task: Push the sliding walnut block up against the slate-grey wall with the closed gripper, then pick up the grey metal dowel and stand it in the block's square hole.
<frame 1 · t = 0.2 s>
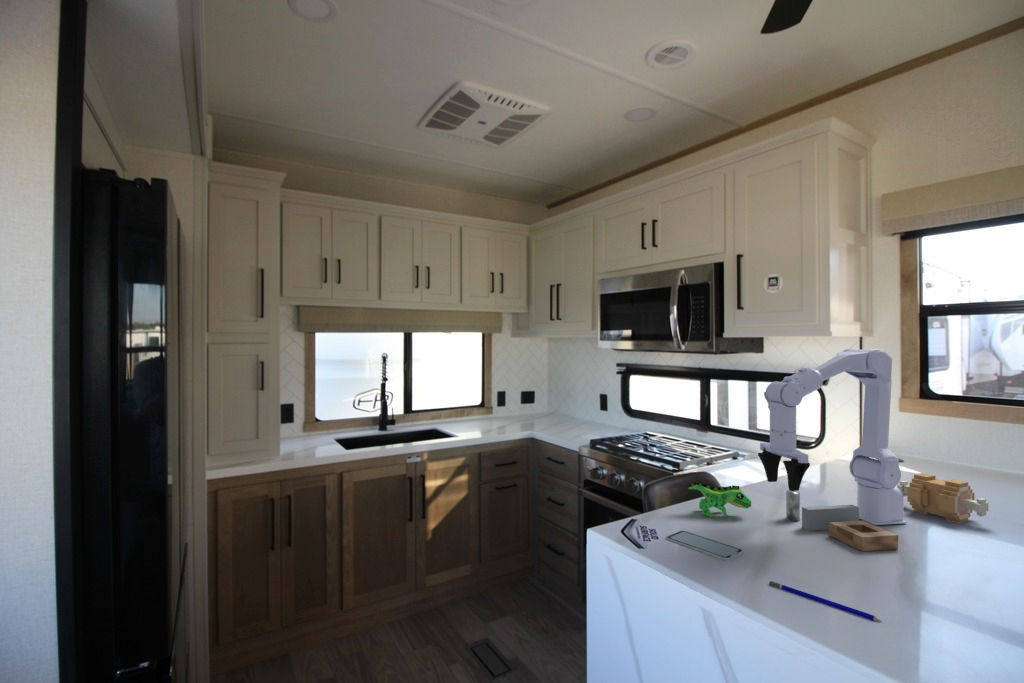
hand: (782, 485, 120), 10 cm above the worktop, tool pointing down, fingers open, 7 cm apart
toy: (718, 515, 128), on the worktop
wall: (830, 527, 119), on the worktop
dowel: (792, 519, 125), on the worktop
block: (862, 535, 111), point 2 cm above the worktop, slide at 0.0 cm
smartphone: (703, 547, 108), on the worktop
pencil: (821, 604, 84), on the worktop
voxel meat on bone: (940, 517, 129), on the worktop
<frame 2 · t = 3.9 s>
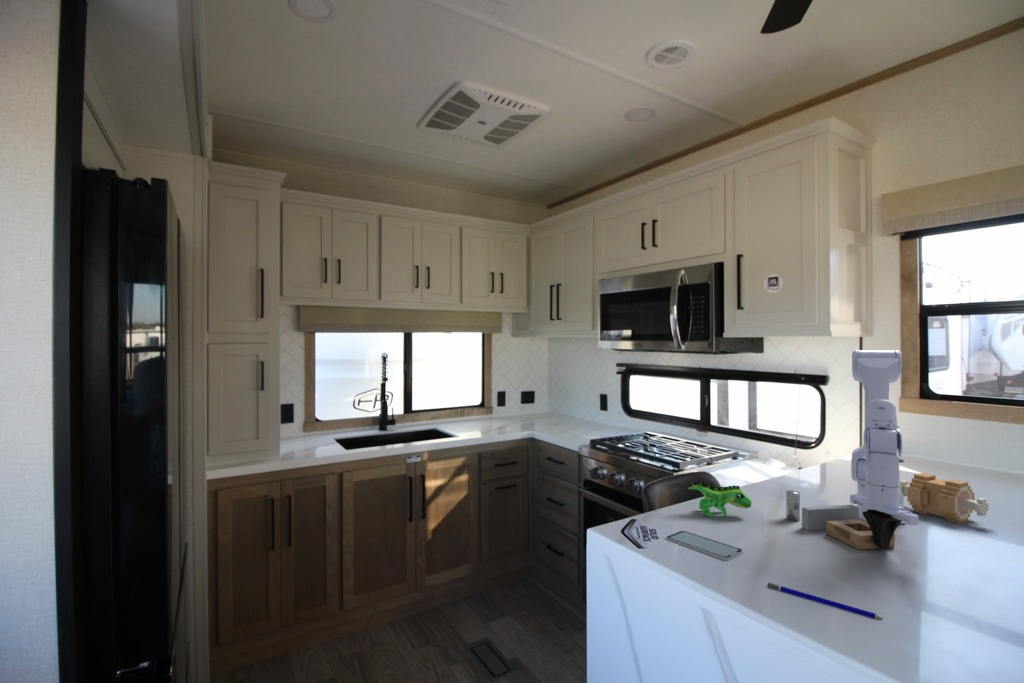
hand: (882, 546, 106), 1 cm above the worktop, tool pointing down, fingers closed
block: (859, 533, 111), point 2 cm above the worktop, slide at 0.9 cm, touching gripper
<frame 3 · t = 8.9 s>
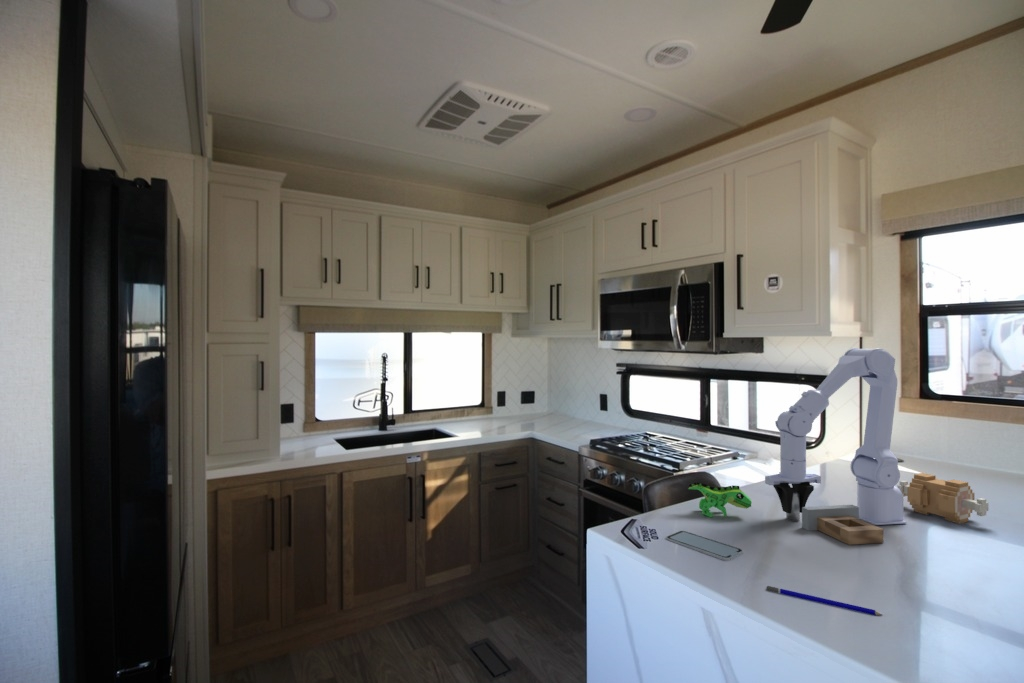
hand: (792, 511, 125), 2 cm above the worktop, tool pointing down, fingers closed on dowel, 3 cm apart
dowel: (792, 519, 125), on the worktop, touching gripper
block: (849, 529, 114), point 2 cm above the worktop, slide at 3.5 cm
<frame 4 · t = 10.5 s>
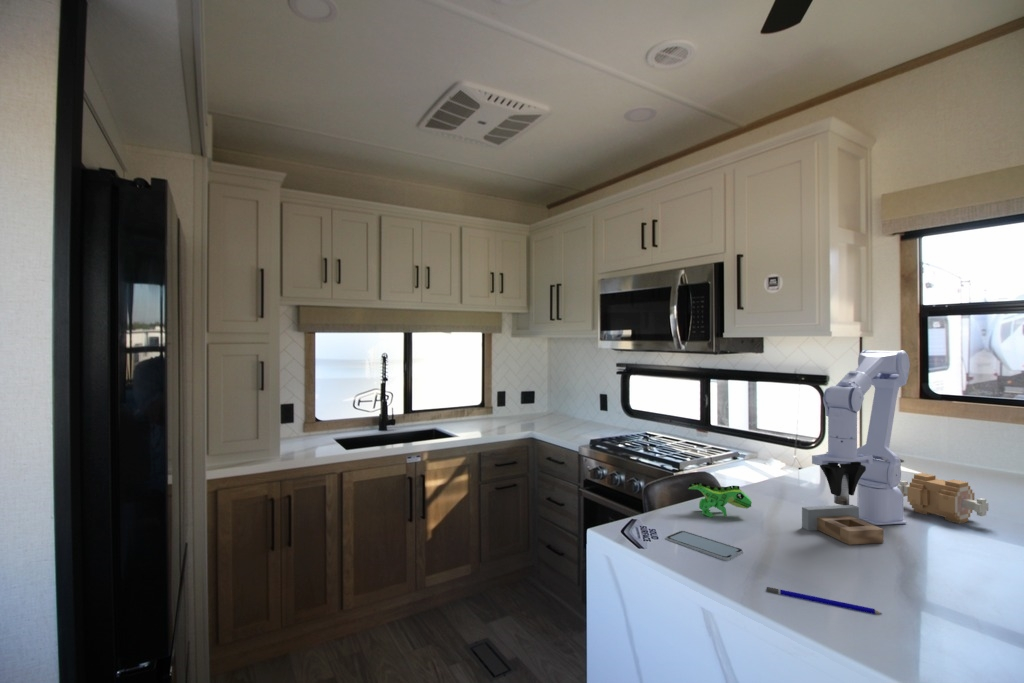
hand: (842, 494, 115), 9 cm above the worktop, tool pointing down, fingers closed on dowel, 3 cm apart
dowel: (841, 503, 116), point 7 cm above the worktop, touching gripper
when the fingers open (3 cm above the worktop, at t = 12.4 s): dowel drops 1 cm, resting in block.
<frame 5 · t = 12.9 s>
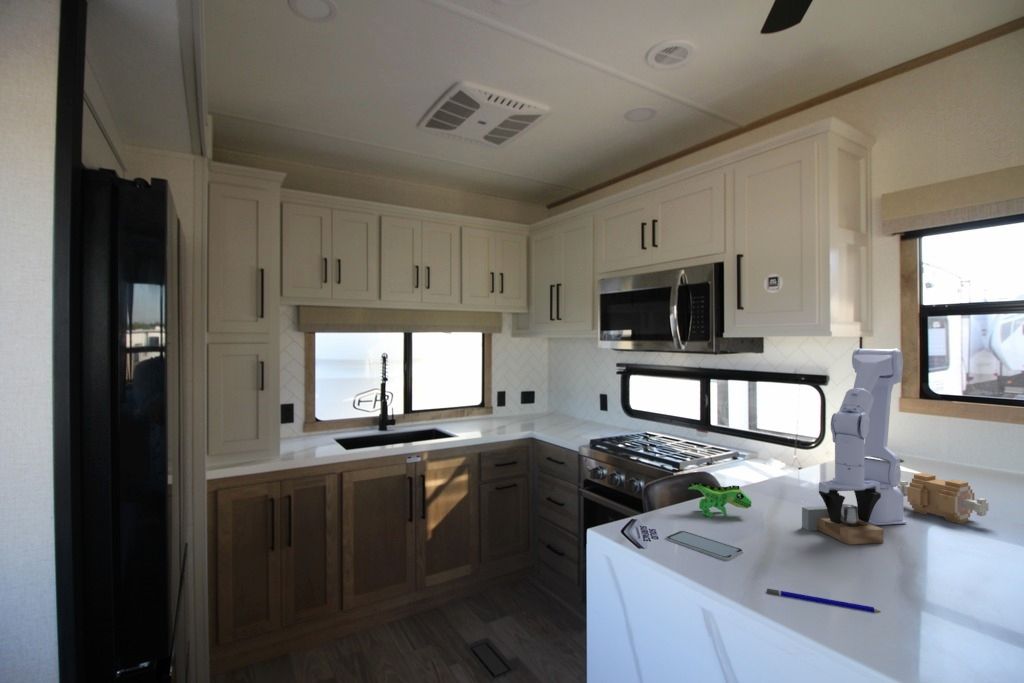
hand: (849, 521, 114), 3 cm above the worktop, tool pointing down, fingers open, 7 cm apart
dowel: (848, 536, 114), resting in block
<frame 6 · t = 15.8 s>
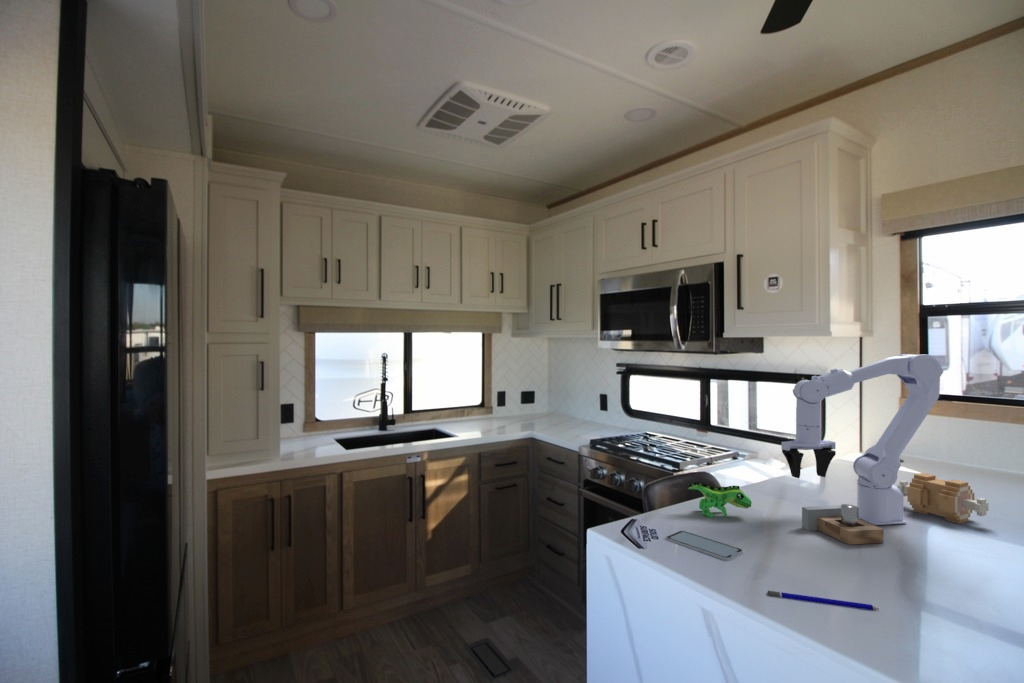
hand: (808, 476, 129), 10 cm above the worktop, tool pointing down, fingers open, 7 cm apart
at the end: block slide at 3.5 cm; dowel 0.2 cm off-centre on the block, point 0.0 cm above the block's base; dowel tilted 0° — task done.
